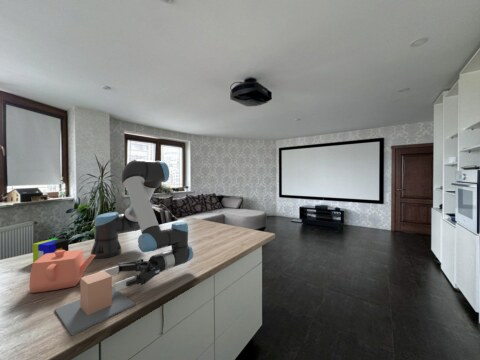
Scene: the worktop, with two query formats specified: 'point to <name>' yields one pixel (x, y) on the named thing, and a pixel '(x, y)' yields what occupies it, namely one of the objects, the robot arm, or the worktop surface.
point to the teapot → (58, 270)
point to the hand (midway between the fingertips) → (106, 281)
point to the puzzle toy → (49, 247)
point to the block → (96, 292)
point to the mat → (80, 320)
